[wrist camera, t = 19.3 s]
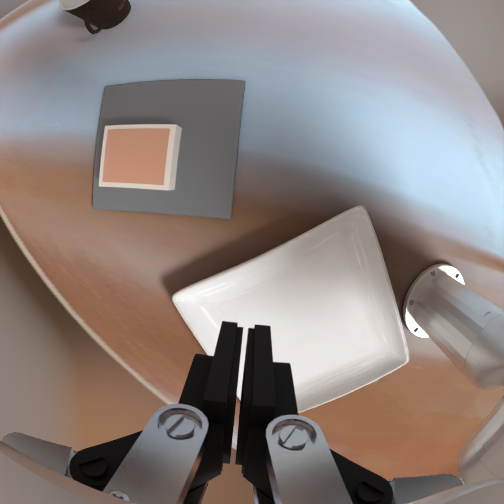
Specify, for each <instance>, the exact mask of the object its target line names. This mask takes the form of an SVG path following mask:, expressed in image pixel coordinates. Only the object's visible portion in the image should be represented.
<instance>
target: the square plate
mask: <svg viewBox="0 0 504 504" xmlns="http://www.w3.org/2000/svg"><path fill="white" fill-rule="evenodd" d="M172 301H173V303H174V305H175V306H176V308H177V310H178V311H179V313H180V315H181V316H182V318H183V319H184V321H185V322H186V324H187V325H188V327H189V328H190V330H191V331H192V333H193V334H194V336H195V337H196V339H197V340H198V342H199V343H200V345H201V346H202V348H203V349H204V351H205V352H206V353H207V355H210V356H214V352H215V348H216V344H217V340H218V336H219V332H220V328H221V324H222V321H227V322H236V323H238V326H237V327H243V336H242V346H241V356H240V366H239V376H238V386H237V397H238V398H239V400H240V401H241V390H242V380H243V371H244V362H245V353H246V344H247V335H248V328H254V326H255V324H256V325H267V326H270V327H271V340H272V354H273V362H284V363H290V365H291V370H292V376H293V383H294V389H295V396H296V403H297V409H298V413H300V412H303V411H306V410H309V409H311V408H314V407H317V406H319V405H322V404H324V403H327V402H329V401H332V400H334V399H336V398H339V397H341V396H344V395H346V394H348V393H350V392H352V391H355V390H357V389H359V388H361V387H363V386H365V385H368V384H370V383H372V382H373V381H375V380H377V379H379V378H381V377H383V376H385V375H387V374H389V373H391V372H393V371H394V370H396V369H398V368H400V367H401V366H403V365H404V364H406V363H407V362H408V361H409V351H408V346H407V342H406V338H405V334H404V330H403V326H402V322H401V318H400V314H399V311H398V307H397V303H396V300H395V296H394V293H393V289H392V285H391V282H390V278H389V275H388V271H387V268H386V265H385V261H384V258H383V255H382V251H381V248H380V245H379V242H378V239H377V236H376V233H375V230H374V227H373V225H372V222H371V220H370V217H369V215H368V212H367V210H366V208H365V207H364V206H363V205H360V206H356V207H354V208H352V209H349V210H347V211H345V212H343V213H341V214H339V215H337V216H335V217H333V218H331V219H330V220H328V221H326V222H324V223H322V224H320V225H318V226H316V227H315V228H313V229H311V230H309V231H307V232H305V233H303V234H301V235H299V236H297V237H296V238H294V239H292V240H290V241H288V242H286V243H284V244H282V245H280V246H278V247H276V248H274V249H271V250H269V251H267V252H265V253H263V254H261V255H259V256H257V257H255V258H252V259H250V260H248V261H246V262H243V263H241V264H239V265H237V266H234V267H232V268H229V269H227V270H225V271H222V272H220V273H218V274H215V275H213V276H210V277H208V278H206V279H203V280H201V281H198V282H196V283H194V284H191V285H189V286H187V287H185V288H183V289H181V290H179V291H177V292H176V293H175V294H173V296H172Z"/></svg>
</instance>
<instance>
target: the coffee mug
mask: <svg viewBox="0 0 504 504" xmlns="http://www.w3.org/2000/svg"><path fill="white" fill-rule="evenodd" d="M59 5H60V8H61V9H63V10H65V11H67V12H69V13H71V14H73V15H75V16H77V17H79V18H81V19H83V20H84V21H85V25H86V28H87V30H88V31H89V32H90V33H92V34H95V33H97V32H99V31H101V29H110V28H112V27H114V26H116V25H118V24H119V23H121V22H122V21H123V20H124V19H125V18H126V17H127V15H128V14H129V12H130V9H131V5H130V3H129V1H128V0H60V4H59ZM89 23H91V24H93V25H94V26H96V27H98V29H97V30H93V29H92V28H91V26H90V24H89Z"/></svg>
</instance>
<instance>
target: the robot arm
mask: <svg viewBox="0 0 504 504" xmlns="http://www.w3.org/2000/svg"><path fill="white" fill-rule="evenodd" d="M403 318H404V322H405V324H406V327H407V328H408V329H409V330H410V331H411V332H412V333H413V334H414V335H416V336H418V337H430V338H431V339H432V340H433V342H434V343H435V344H436V345H437V346H438V347H439V348H440V349H441V350H442V351H443V352H444V353H445V354H446V356H447V357H448V358H449V359H450V360H451V361H452V362H453V363H454V364H455V366H456V367H457V368H458V369H459V370H460V371H461V372H462V373H463V375H464V376H465V377H466V378H467V379H468V380H469V381H470V382H471V383H472V384H473V385H474V386H475V387H477V388H479V389H483V390H495V389H502V388H504V310H503V309H501V308H500V307H498V306H497V305H495V304H494V303H492V302H491V301H489V300H488V299H486V298H485V297H483V296H481V295H480V294H478V293H477V292H475V291H474V290H472V289H470V288H469V287H467V286H466V285H464V281H463V277H462V275H461V273H460V272H459V271H458V270H457V269H456V268H454V267H453V266H451V265H448V264H443V263H442V264H436V265H433V266H431V267H429V268H427V269H426V270H424V271H423V272H422V273H421V274H420V275H419V276H418V277H417V278H416V279H415V280H414V282H413V283H412V285H411V286H410V288H409V290H408V292H407V294H406V298H405V301H404V306H403ZM237 326H238V323H236V322H227V321H222V324H221V328H220V332H219V336H218V340H217V344H216V348H215V352H214V356H210V355H202V354H195V356H194V359H193V362H192V365H191V368H190V371H189V374H188V377H187V379H186V382H185V385H184V388H183V391H182V394H181V397H180V400H179V403H178V404H171V405H167V406H164V407H162V408H160V409H159V410H157V411H156V412H155V414H154V415H153V416H152V418H151V419H150V421H149V422H148V424H147V425H146V427H145V428H144V430H142V431H140V432H137V433H134V434H131V435H128V436H125V437H123V438H119V439H116V440H113V441H110V442H107V443H103V444H100V445H96V446H93V447H89V448H86V449H83V450H81V451H73V449H72V447H68V446H64V445H60V444H56V443H52V442H48V441H45V440H41V439H38V438H35V437H31V436H28V435H25V434H22V433H17V432H14V433H9V434H7V435H6V436H4V437H3V439H2V440H1V441H0V504H201V503H202V501H203V498H204V495H205V493H206V490H207V487H208V484H209V480H211V479H213V478H214V477H216V476H218V475H220V474H221V471H222V467H223V463H230V456H231V446H232V436H233V426H234V416H235V406H236V396H237V386H238V376H239V366H240V356H241V346H242V336H243V327H237ZM235 464H238V465H242V473H243V477H245V478H246V479H247V480H248V481H249V482H251V483H252V484H253V494H254V499H255V504H504V394H503V396H502V397H501V399H500V400H499V401H498V403H497V405H496V406H495V408H494V409H493V410H492V411H491V413H490V414H489V415H488V416H487V418H486V419H485V420H484V421H483V422H482V424H481V425H480V426H479V427H478V428H477V429H476V430H475V432H474V433H473V434H472V435H471V436H470V437H469V438H468V440H467V441H466V442H465V443H464V444H463V446H462V447H461V449H460V451H459V453H458V456H457V463H456V465H457V470H458V473H459V475H460V477H461V478H462V480H463V481H464V483H465V484H464V485H463V483H462V481H461V480H460V479H459V478H458V477H457V476H455V475H453V474H437V475H429V476H417V477H401V478H394V479H393V480H392V481H387V480H386V479H384V478H383V477H381V476H379V475H377V474H375V473H373V472H371V471H369V470H367V469H365V468H363V467H361V466H360V465H358V464H356V463H354V462H352V461H350V460H348V459H347V458H345V457H343V456H341V455H340V454H338V453H336V452H334V451H333V450H331V449H329V447H328V445H327V442H326V440H325V438H324V435H323V433H322V431H321V429H320V428H319V426H318V425H317V424H316V423H315V422H314V421H312V420H311V419H308V418H306V417H304V416H299V415H298V409H297V403H296V396H295V389H294V383H293V376H292V370H291V365H290V363H284V362H273V354H272V340H271V327H270V326H267V325H256V324H255V326H254V328H248V335H247V344H246V353H245V362H244V371H243V380H242V390H241V402H240V414H239V426H238V438H237V451H236V463H235Z"/></svg>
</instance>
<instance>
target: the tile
mask: <svg viewBox="0 0 504 504" xmlns="http://www.w3.org/2000/svg"><path fill="white" fill-rule="evenodd" d="M181 131H182V128H181V127H179V126H178V125H175V124H137V125H111V126H105V130H104V137H103V145H102V154H101V163H100V175H99V186H100V187H121V188H139V189H154V190H167V191H169V190H175V181H176V172H177V163H178V154H179V146H180V138H181Z"/></svg>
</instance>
